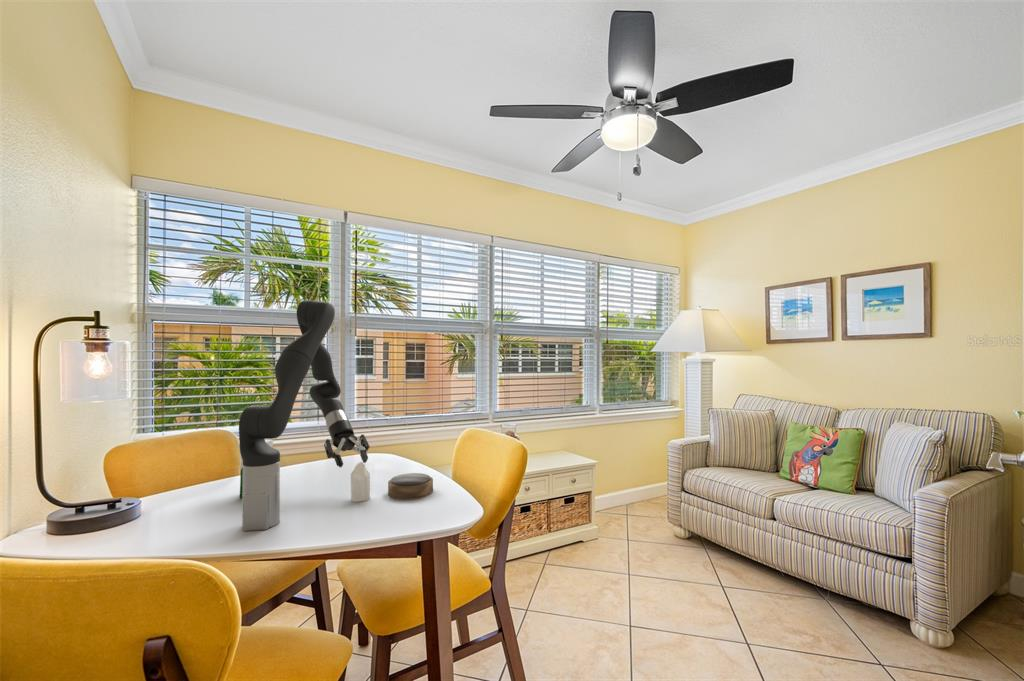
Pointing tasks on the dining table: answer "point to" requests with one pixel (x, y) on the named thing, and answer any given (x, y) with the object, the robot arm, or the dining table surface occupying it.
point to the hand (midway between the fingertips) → (353, 463)
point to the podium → (410, 486)
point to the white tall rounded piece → (360, 483)
